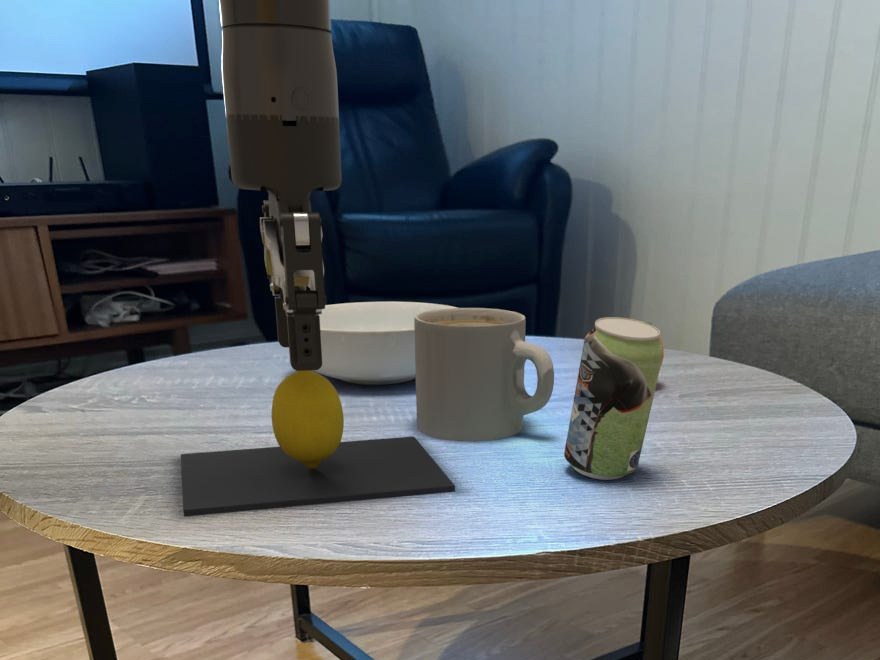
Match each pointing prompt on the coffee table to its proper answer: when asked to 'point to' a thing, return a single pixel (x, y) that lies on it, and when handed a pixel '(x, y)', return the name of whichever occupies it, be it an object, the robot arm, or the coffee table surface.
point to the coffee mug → (476, 373)
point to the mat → (308, 476)
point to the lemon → (307, 417)
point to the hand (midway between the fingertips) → (299, 357)
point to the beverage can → (613, 397)
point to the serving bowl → (370, 341)
